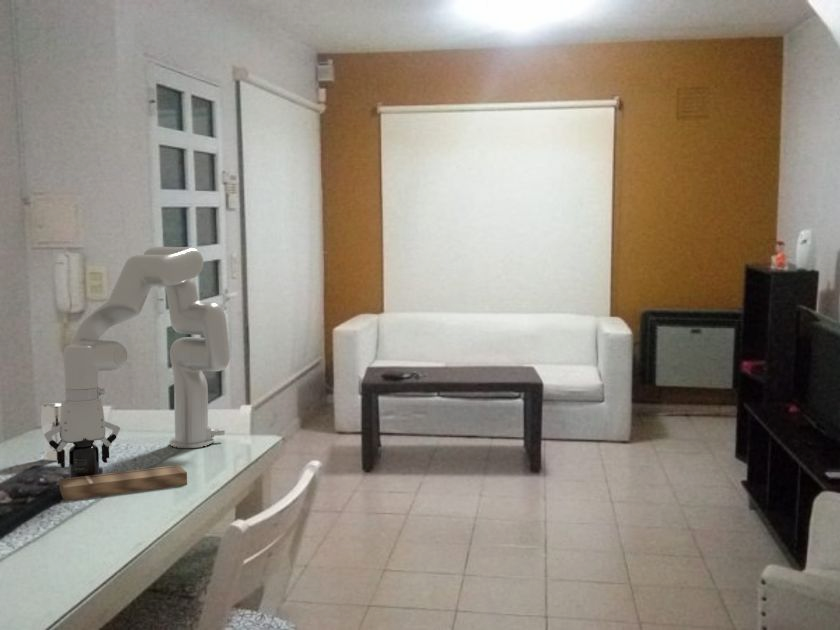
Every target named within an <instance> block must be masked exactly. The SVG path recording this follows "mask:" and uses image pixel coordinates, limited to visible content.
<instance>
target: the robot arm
mask: <svg viewBox="0 0 840 630" xmlns="http://www.w3.org/2000/svg"><path fill="white" fill-rule="evenodd" d="M203 268H204V257H203V255H202V253H201V252H200V251H199V250H198V249H197V248H194V247H191V246H190V247H189V246H155V247H150V248H148V249H146V250H145V251H144V252H143V254H136V255H132V256H131V257H129V258H128V259H127V260H126V261H125V263H124V265H123V267H122V269H121V271H120V274H119V276H118V278H117V281H116V283H115V284H114V287H113V289H112V292H111V294H110V295H109V298H108V300H107V301H106V302H104V303H103V304H102V305H100V306H99V307H97V309H95V310H94V311H92V312H91V313H90V314H89V315H88V316H87V317H86V318H85V319H84V320H83V321H82V322H81V324H80V325H79V327H78V328H77V331H76V333H75V335H74V337H73V339H72V341H71V344H69V345H67V346H66V347H65V348H64V350H63V364H64V365H63V369H64V370H63V371H64V399H63V400H62V401H61V402H60V403H61V409H60V425H59V426H57V427H55V428H53V429H52V430H50V431H48V432H46V433H45V434H44V435H43V437H44V436H45V438H46V440H47V441H48V443H49V444H50V445H51V446H52V447H53V448H54V449H56V450H57V461H56V462H57V465H60V467H61V468H65V467H66V459H65V452H64V450H63V448H64V447H65V446H67V445H68V444H73V443H75V442H79V441H81V440H82V441H83V438H84V439H85V438H86V440H87V439H88V440H90V441H94V442H95V441H99V440H100V442H101V443H102V445H101V461H102V463H105V464H107V463H108V459H110V446H111V444H112V443H113V442H114V441H115V440H116V439H117V436H118V434H119V432H120V431H121V427H120V426H118V425H116V424H114V423H112V422H108V421H107V420H106V419H105V412H104V407H103V406H104V405H103V402H102V398H100V396H101V395H105V393H106V391H105V388H101V387H99V372H106V371H107V372H112V371H113V372H114V371H116V370H119V369H121V368H122V367H123V366H124V365H125V364H126V362H127V360H128V351H127V348H126V347H125V346H124V344H122V343H120V342H118V341H115V340H106V339H105V340H103V339H100V338H101V337H103V335H104V334H105V333H106V332H108V331H109V330H110V329H113V328H114V327H116V326H119V325H121V324H123V323H125V322H128V321H130V320H133V319H135V318H136V317H138V316H139V315H140V314H141V312H142V309H143V308H144V305H145V303H146V300H147V298H148V296H149V293H150V291H151V289H152V288H155V287H156V288H160V287H161V288H164V289H165V293H166V298H167V305H168V311H169V312H168V313H169V318H170V319H169V320H170V325H171V327H172V330H174V331H175V332H176V333H178V334H181V335H183V334H185V335H196V336H197V335H199V336H203V337H193V336H191V337H190V336H187V337H186V336H185V337H180V338H177V339H176V340H174V342H173V343H172V344H171V346H170V349H169V358H170V364H171V369H172V374H173V392H174V393H173V395H174V399H173V401H174V402H173V404H174V438H171V439H170V440H169V446H170V445H171V446H170V447H172V446H173V448H176V447H177V448H178V449H199V448H204V447H203V446H205V447H208V446H207V445H209V444H211V443H213V442H214V441H215V439H214V437H216V436H219V437H220V436H224V435H225V432H226V431H225V429H224V428H219V429H218V428H211V427H210V426H209V395H208V394H209V392H208V390H209V389H208V387H209V386H208V381H207V377H206V376H205V374H204V371H205V372H221V371H223V370H224V369H226V368H227V367H228V365H229V362H230V358H231V357H230V356H231V351H230V342H229V334H228V333H229V332H228V326H227V319H226V318H227V317H226V314H225V312H224V311H225V310H224V309H223V308H222V307H221V306H220V305H219V304H217V303H215V302H213V301H212V302H209V301H200V299H199V294H198V289H197V284H196V282H195V278H197V277H198V276H199V275H200V274H201V272H202V270H203ZM106 428H107V429H110V430H111V431H112V432H111V433H110V434H109V436H108V437H106ZM58 432H60V438H61V440H60V441H59V442H58V443H56V442H55V441H54V440H53V439H52V436H53V435H55V434H57V433H58ZM213 444H214V443H213ZM211 445H212V444H211ZM209 446H210V445H209Z"/></svg>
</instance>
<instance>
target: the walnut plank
mask: <svg viewBox="0 0 840 630" xmlns="http://www.w3.org/2000/svg"><path fill="white" fill-rule="evenodd" d="M184 485H188V471H186V470H185V469H184V468H183V467H182V466H181V465H179V464H175V465H168V466H160V467H157V466H156V467H151V468H139V469H131V470H126V471H124V470H123V471H118V472H107V473H99V474H98V475H90V476H82V477H73V478H70V477H66V478H59V492H60V491H61V493H60V495H61V496H62V497H61V498H62V499H63V501H70V500H76V499H77V500H78V499H84V498H93V497H94V498H95V497H100V496H101V497H102V496H106V495H107V496H108V495H114V494H123V493H130V492H137V491H138V492H139V491H145V490H152V489H161V488H162V489H163V488H168V487H176V486H184Z"/></svg>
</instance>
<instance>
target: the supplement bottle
mask: <svg viewBox="0 0 840 630" xmlns="http://www.w3.org/2000/svg"><path fill="white" fill-rule="evenodd" d="M94 443H95V440H94V441H90V440H88V439H87V440H86V438H85V439H84V438H83V441H82V440H81V441H79V442H75V443H72V444H73V445H72V446H71V447H70V448H69V449H68V469H69V472H68V473H69V478H73V477H82V476H90V475H98V474H100V460H99V459H100V453H99V451H100V450H99V447H98V446H97V445H96V444H94Z"/></svg>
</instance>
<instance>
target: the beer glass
mask: <svg viewBox="0 0 840 630" xmlns="http://www.w3.org/2000/svg"><path fill="white" fill-rule="evenodd" d="M61 403H62V402H49V403H44V404H42V405H41V418H40V419H41V430H42V434H43V439H44V445H45V453H44V458H43V459H44V461H46V462H57V450H56V449H54V448H53V447H52V446H51V445H50V444H49V443H48V441H47V440H46V438H45V436H44V434H45V433H46V432H48V431H50V430H52V429H53V428H55V427H57V426H59V425H60V409H61ZM52 439H53V440H54V441H55V442H56V443H58V442H59V441H60V440H61V438H60V432H58V433H57V434H55V435H53V436H52ZM63 450H64V452H65V460H68V459H69V451H68V448H67V445H66V446H65V447H64V448H63Z"/></svg>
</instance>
